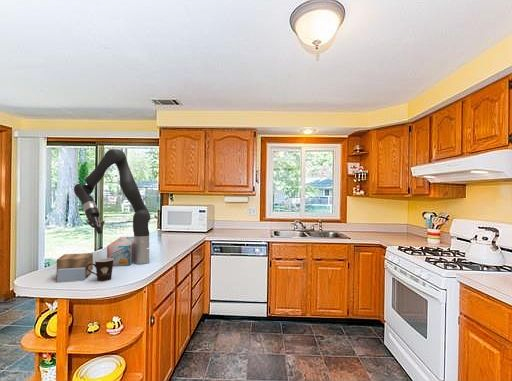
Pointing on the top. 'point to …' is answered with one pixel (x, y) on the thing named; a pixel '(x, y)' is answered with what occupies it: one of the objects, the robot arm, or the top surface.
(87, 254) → the wood grain cube
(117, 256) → the soda box
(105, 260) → the coffee mug
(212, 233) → the top surface
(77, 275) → the block
